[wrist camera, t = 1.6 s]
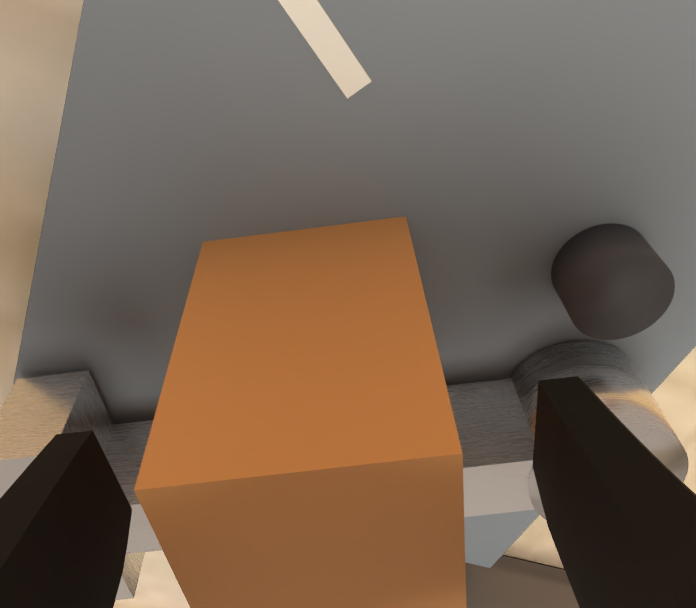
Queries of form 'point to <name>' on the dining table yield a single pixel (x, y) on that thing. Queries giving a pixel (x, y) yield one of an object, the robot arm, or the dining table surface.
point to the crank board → (378, 176)
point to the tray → (517, 586)
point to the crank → (467, 405)
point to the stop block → (308, 429)
